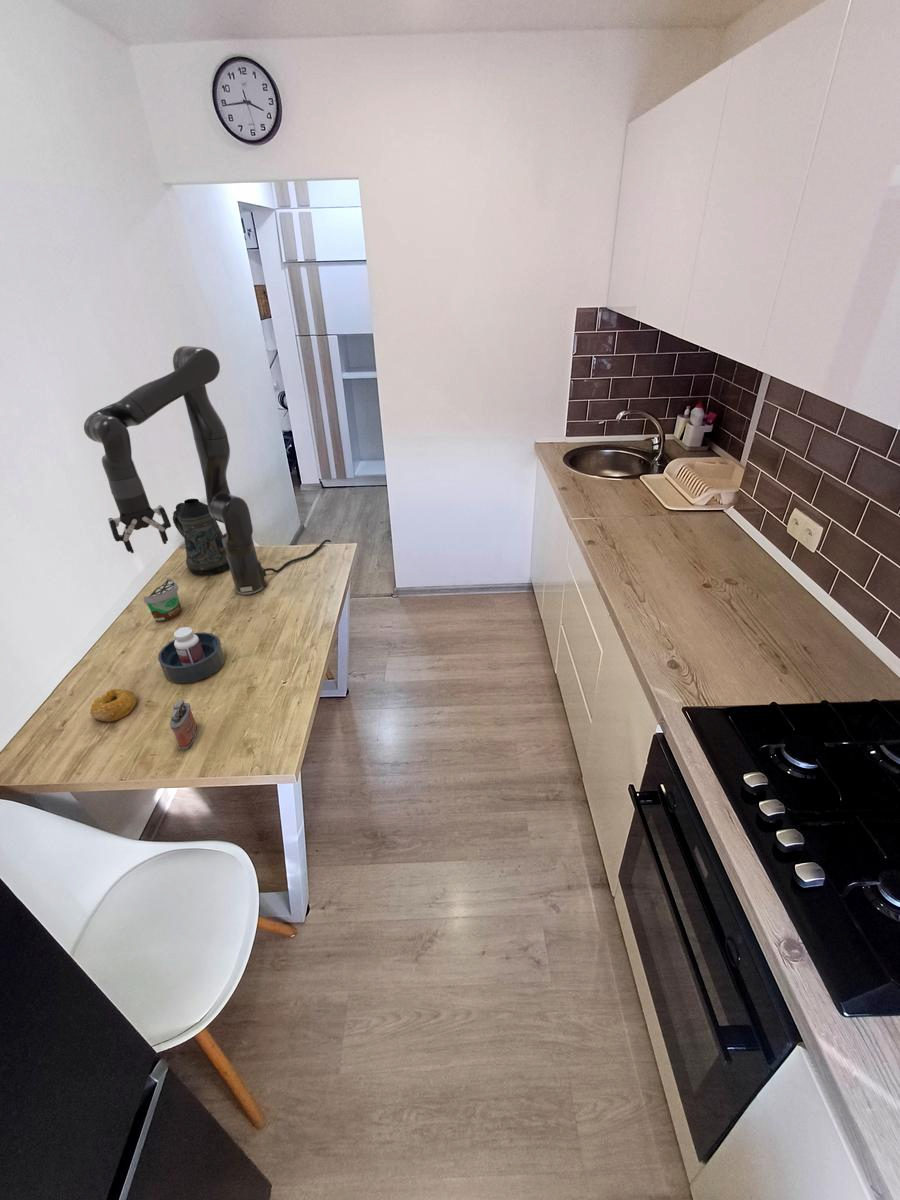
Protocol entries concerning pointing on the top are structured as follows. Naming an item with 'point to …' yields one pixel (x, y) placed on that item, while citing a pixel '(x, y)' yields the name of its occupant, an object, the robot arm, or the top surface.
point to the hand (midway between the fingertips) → (148, 547)
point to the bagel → (113, 705)
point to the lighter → (183, 725)
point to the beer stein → (200, 538)
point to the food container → (164, 602)
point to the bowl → (197, 670)
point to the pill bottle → (188, 646)
